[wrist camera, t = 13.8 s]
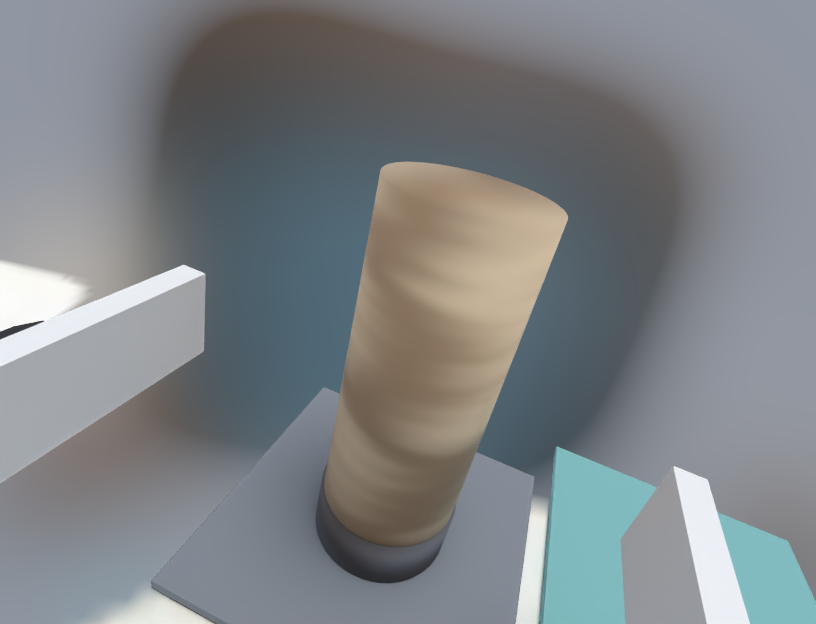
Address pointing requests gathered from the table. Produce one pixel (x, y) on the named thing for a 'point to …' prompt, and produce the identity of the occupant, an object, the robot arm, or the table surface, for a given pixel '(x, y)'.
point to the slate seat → (315, 570)
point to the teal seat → (602, 562)
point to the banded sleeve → (427, 358)
